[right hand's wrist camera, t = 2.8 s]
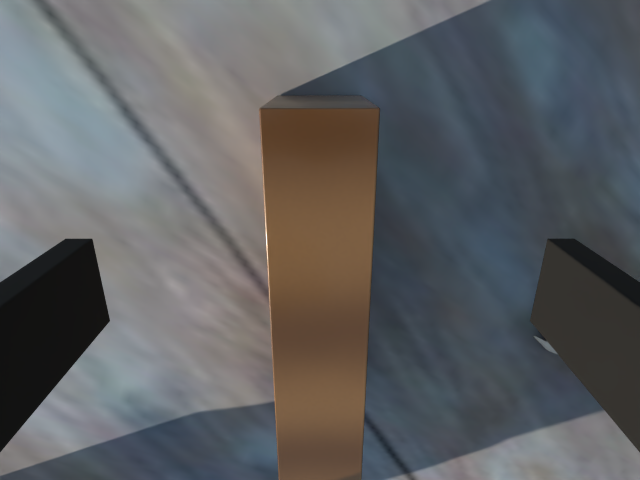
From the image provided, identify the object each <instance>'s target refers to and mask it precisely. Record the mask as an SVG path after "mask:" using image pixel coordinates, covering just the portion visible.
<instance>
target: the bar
mask: <svg viewBox="0 0 640 480" xmlns="http://www.w3.org/2000/svg"><path fill="white" fill-rule="evenodd" d="M259 114H260V133H261V152H262V171H263V190H264V209H265V227H266V246H267V265H268V284H269V303H270V322H271V341H272V360H273V379H274V398H275V417H276V436H277V455H278V473H279V480H361V476H362V456H363V437H364V417H365V397H366V377H367V357H368V337H369V317H370V298H371V278H372V258H373V238H374V218H375V198H376V178H377V158H378V139H379V119H380V108H378V107H377V106H376V105H374V104H373V103H371V102H370V101H368V100H367V99H366V98H364V97H363V96H276V97H275V98H274V99H272V100H271V101H269V102H268V103H267V104H265V105H264V106H262V107H261V108H260V109H259Z"/></svg>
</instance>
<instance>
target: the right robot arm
mask: <svg viewBox="0 0 640 480" xmlns="http://www.w3.org/2000/svg"><path fill="white" fill-rule="evenodd" d="M109 321H110V319H109V314H108V310H107V305H106V300H105V296H104V291H103V286H102V282H101V277H100V272H99V268H98V263H97V258H96V254H95V249H94V245H93V240H92V239H65V240H63V241H62V242H60V243H59V244H57V245H56V246H54V247H53V248H51V249H50V250H48V251H47V252H45V253H44V254H42V255H41V256H39V257H38V258H36V259H35V260H33V261H32V262H30V263H29V264H27V265H26V266H24V267H23V268H21V269H20V270H18V271H17V272H15V273H14V274H12V275H11V276H9V277H8V278H6V279H5V280H3V281H2V282H0V452H1V451H2V449H3V448H4V447H5V446H6V445H7V443H8V442H9V441H10V440H11V439H12V437H13V436H14V435H15V434H16V433H17V431H18V430H19V429H20V428H21V427H22V425H23V424H24V423H25V422H26V421H27V419H28V418H29V417H30V416H31V415H32V413H33V412H34V411H35V410H36V409H37V408H38V406H39V405H40V404H41V403H42V402H43V400H44V399H45V398H46V397H47V396H48V394H49V393H50V392H51V391H52V390H53V388H54V387H55V386H56V385H57V384H58V382H59V381H60V380H61V379H62V378H63V376H64V375H65V374H66V373H67V372H68V370H69V369H70V368H71V367H72V366H73V364H74V363H75V362H76V361H77V360H78V358H79V357H80V356H81V355H82V354H83V352H84V351H85V350H86V349H87V348H88V346H89V345H90V344H91V343H92V342H93V340H94V339H95V338H96V337H97V336H98V334H99V333H100V332H101V331H102V330H103V328H104V327H105V326H106V325H107V324H108V323H109ZM530 321H531V323H532V324H533V325H534V326H535V327H536V328H537V330H538V331H539V332H540V333H541V334H542V336H543V337H544V338H545V339H546V340H547V342H548V343H549V344H550V345H551V346H552V348H553V349H554V350H555V351H556V352H557V354H558V355H559V356H560V357H561V358H562V360H563V361H564V362H565V363H566V364H567V366H568V367H569V368H570V369H571V370H572V372H573V373H574V374H575V375H576V376H577V378H578V379H579V380H580V381H581V382H582V384H583V385H584V386H585V387H586V388H587V390H588V391H589V392H590V393H591V394H592V396H593V397H594V398H595V399H596V400H597V402H598V403H599V404H600V405H601V406H602V408H603V409H604V410H605V411H606V412H607V413H608V415H609V416H610V417H611V418H612V419H613V421H614V422H615V423H616V424H617V425H618V427H619V428H620V429H621V430H622V431H623V433H624V434H625V435H626V436H627V437H628V439H629V440H630V441H631V442H632V443H633V445H634V446H635V447H636V448H637V449H638V451H639V452H640V282H638V281H637V280H635V279H634V278H632V277H631V276H629V275H628V274H626V273H625V272H623V271H622V270H620V269H619V268H617V267H616V266H614V265H613V264H611V263H610V262H608V261H607V260H605V259H604V258H602V257H601V256H599V255H598V254H596V253H595V252H593V251H592V250H590V249H589V248H587V247H586V246H584V245H583V244H581V243H580V242H578V241H577V240H575V239H548V240H547V245H546V249H545V254H544V258H543V263H542V268H541V272H540V277H539V282H538V286H537V291H536V296H535V300H534V305H533V310H532V314H531V319H530Z"/></svg>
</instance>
